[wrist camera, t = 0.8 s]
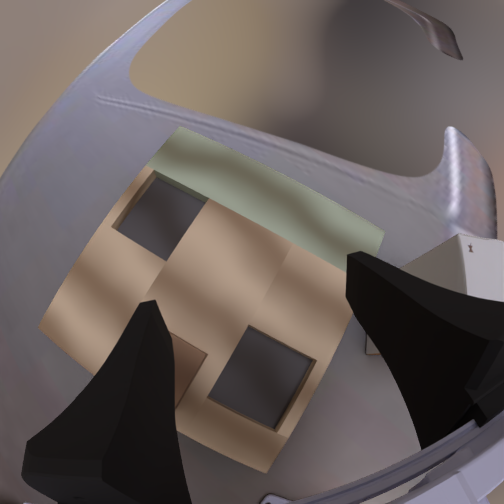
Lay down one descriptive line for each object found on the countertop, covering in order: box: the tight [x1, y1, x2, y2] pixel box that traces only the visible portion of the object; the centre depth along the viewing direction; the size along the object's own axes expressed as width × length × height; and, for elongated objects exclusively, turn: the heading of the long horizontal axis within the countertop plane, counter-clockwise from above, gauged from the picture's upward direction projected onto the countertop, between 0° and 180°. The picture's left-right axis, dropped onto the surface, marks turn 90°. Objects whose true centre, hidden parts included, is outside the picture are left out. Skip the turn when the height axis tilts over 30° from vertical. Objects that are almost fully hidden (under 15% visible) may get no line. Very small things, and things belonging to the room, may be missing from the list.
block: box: [168, 330, 208, 410], centre depth 20 cm, size 5×5×3 cm
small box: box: [366, 234, 504, 355], centre depth 20 cm, size 8×6×13 cm
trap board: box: [38, 126, 385, 473], centre depth 25 cm, size 23×22×2 cm
